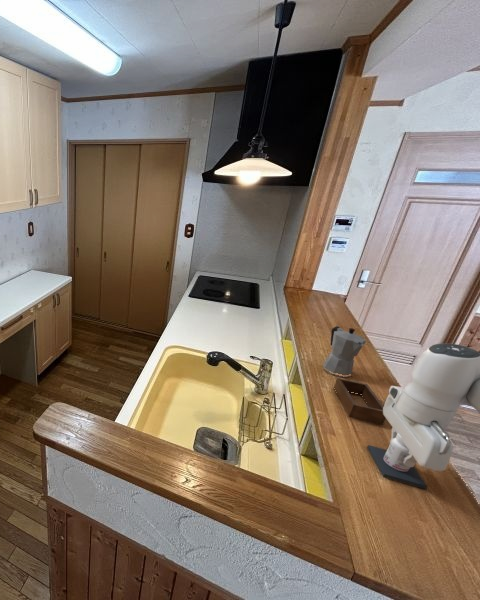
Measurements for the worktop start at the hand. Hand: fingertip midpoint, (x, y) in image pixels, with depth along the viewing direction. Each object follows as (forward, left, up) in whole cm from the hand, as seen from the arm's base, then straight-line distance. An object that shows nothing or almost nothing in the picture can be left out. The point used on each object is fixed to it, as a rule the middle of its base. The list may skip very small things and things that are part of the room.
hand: (400, 454), depth 79 cm
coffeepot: (0, -49, -4) cm, 50 cm away
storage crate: (0, -26, -4) cm, 26 cm away
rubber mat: (0, 0, -4) cm, 4 cm away
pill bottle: (0, 0, -3) cm, 3 cm away
